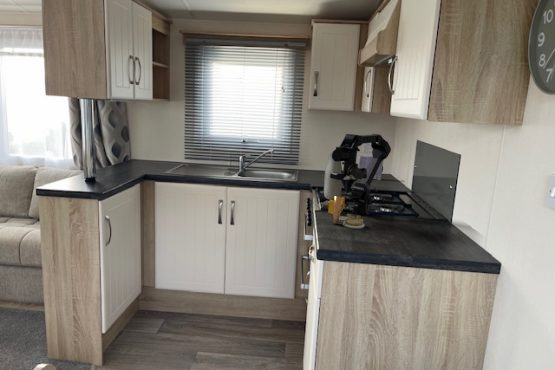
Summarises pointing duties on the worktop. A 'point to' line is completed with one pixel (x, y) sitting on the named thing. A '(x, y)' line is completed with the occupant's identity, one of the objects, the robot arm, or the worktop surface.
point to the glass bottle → (332, 185)
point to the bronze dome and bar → (349, 219)
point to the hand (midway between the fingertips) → (347, 192)
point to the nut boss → (353, 226)
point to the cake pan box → (365, 162)
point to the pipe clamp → (331, 205)
